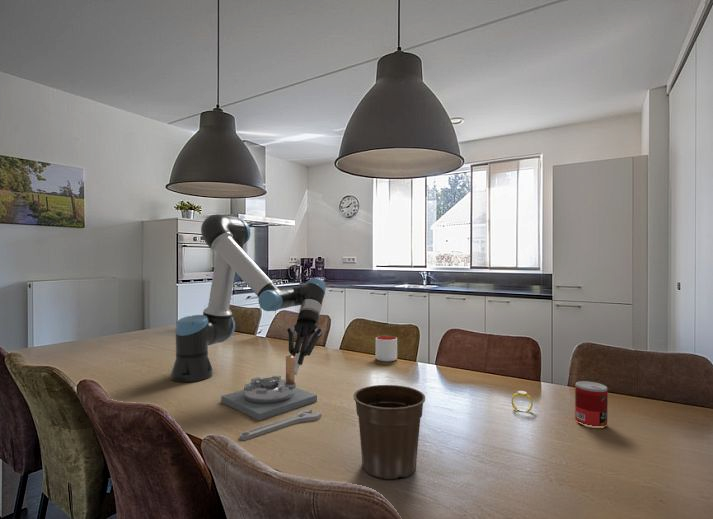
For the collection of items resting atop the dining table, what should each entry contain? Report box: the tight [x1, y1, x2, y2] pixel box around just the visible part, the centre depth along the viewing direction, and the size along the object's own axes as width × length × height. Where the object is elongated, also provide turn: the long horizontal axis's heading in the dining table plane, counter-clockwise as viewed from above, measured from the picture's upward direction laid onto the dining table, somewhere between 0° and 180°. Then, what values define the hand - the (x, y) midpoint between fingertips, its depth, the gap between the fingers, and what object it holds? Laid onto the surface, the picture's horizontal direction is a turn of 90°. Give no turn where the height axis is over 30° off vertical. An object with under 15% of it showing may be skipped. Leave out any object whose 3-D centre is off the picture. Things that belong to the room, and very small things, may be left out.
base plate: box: [220, 387, 318, 422], centre depth 133 cm, size 22×22×2 cm
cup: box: [375, 335, 398, 363], centre depth 188 cm, size 10×10×10 cm
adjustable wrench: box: [239, 408, 323, 441], centre depth 115 cm, size 25×6×2 cm, turn 128°
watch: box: [511, 390, 534, 412], centre depth 126 cm, size 6×3×6 cm, turn 67°
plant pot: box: [352, 384, 426, 480], centre depth 93 cm, size 16×16×16 cm
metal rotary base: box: [243, 354, 297, 404], centre depth 133 cm, size 17×16×13 cm
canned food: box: [574, 380, 609, 426], centre depth 116 cm, size 8×8×11 cm
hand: (294, 372), depth 135 cm, fingers closed
